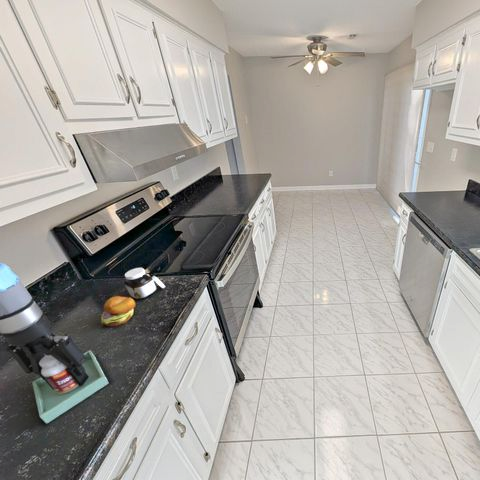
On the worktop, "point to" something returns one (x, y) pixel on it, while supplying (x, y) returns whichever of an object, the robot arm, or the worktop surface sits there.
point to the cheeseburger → (117, 310)
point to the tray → (57, 403)
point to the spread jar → (141, 283)
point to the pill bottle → (57, 375)
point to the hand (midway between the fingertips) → (71, 383)
